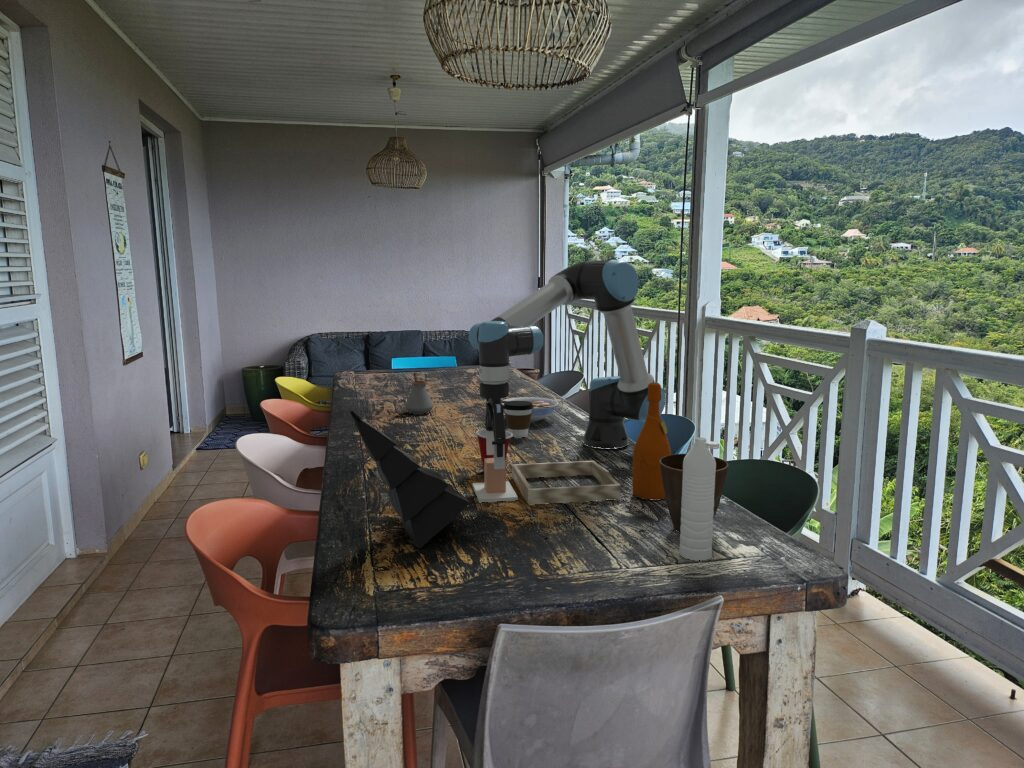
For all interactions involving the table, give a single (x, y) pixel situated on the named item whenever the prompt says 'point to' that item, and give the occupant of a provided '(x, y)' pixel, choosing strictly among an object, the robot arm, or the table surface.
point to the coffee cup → (518, 417)
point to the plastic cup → (482, 444)
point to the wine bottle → (650, 450)
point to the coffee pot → (419, 398)
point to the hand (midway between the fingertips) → (495, 461)
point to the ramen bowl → (537, 406)
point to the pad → (494, 497)
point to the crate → (565, 494)
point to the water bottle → (698, 501)
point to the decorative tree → (412, 487)
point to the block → (494, 477)
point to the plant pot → (673, 483)
